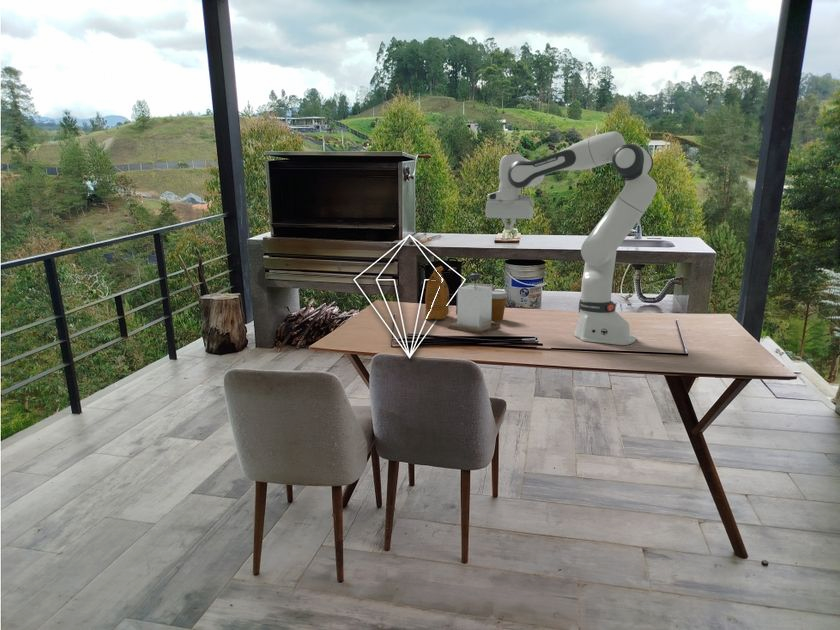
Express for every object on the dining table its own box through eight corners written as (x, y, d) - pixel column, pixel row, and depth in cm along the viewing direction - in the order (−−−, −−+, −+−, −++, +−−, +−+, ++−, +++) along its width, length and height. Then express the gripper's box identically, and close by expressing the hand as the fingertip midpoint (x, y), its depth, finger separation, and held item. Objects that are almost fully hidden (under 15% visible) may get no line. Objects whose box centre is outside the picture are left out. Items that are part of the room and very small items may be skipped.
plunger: (487, 318, 244) (488, 273, 240) (477, 322, 238) (478, 276, 234) (471, 316, 249) (472, 272, 245) (461, 319, 243) (462, 274, 239)
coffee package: (452, 315, 266) (452, 266, 261) (444, 321, 254) (444, 270, 249) (430, 314, 269) (431, 265, 264) (421, 320, 257) (422, 269, 252)
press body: (499, 327, 245) (501, 287, 242) (482, 334, 234) (483, 292, 231) (465, 321, 254) (466, 283, 251) (447, 328, 243) (448, 287, 240)
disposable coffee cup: (495, 316, 265) (495, 289, 262) (511, 319, 258) (512, 292, 255) (479, 319, 259) (480, 291, 257) (495, 323, 252) (496, 294, 249)
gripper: (536, 195, 240) (535, 230, 243) (491, 194, 251) (490, 228, 254) (530, 195, 235) (529, 231, 238) (483, 195, 246) (483, 229, 249)
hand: (508, 229), depth 246 cm, fingers closed
